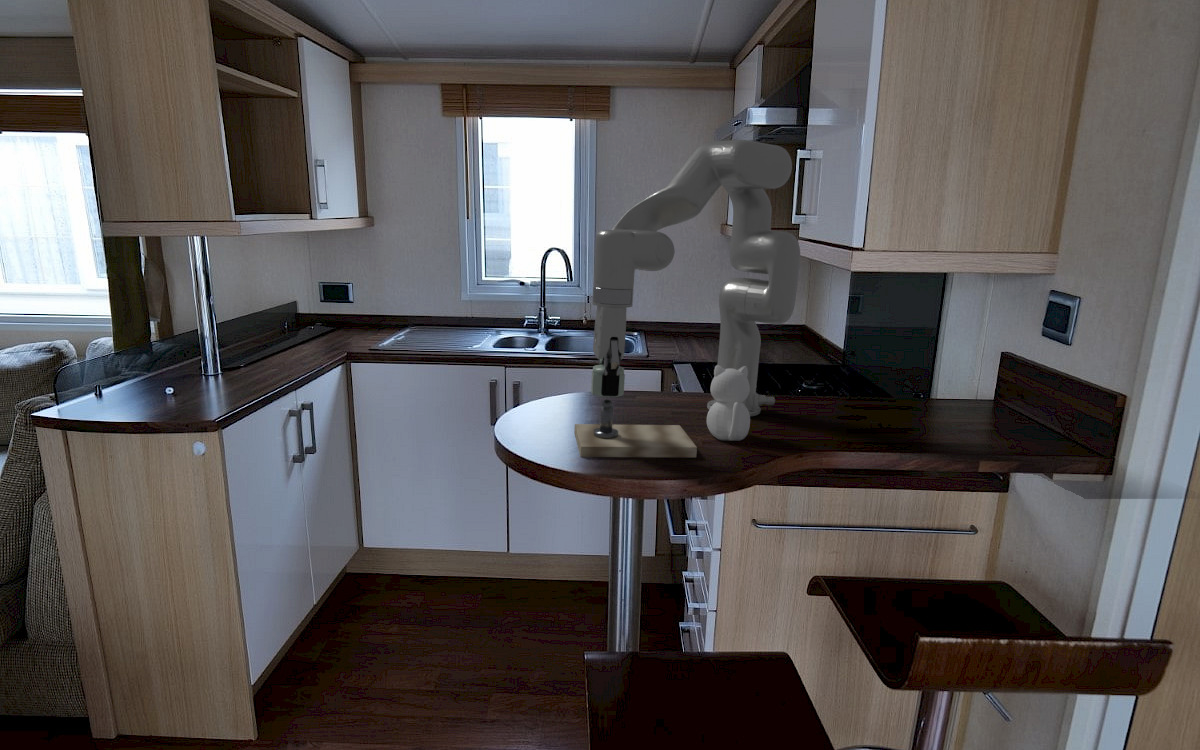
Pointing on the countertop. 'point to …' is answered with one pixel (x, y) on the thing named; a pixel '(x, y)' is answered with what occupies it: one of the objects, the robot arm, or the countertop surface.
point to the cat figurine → (729, 404)
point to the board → (635, 441)
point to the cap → (597, 380)
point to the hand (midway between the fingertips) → (607, 390)
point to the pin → (606, 422)
